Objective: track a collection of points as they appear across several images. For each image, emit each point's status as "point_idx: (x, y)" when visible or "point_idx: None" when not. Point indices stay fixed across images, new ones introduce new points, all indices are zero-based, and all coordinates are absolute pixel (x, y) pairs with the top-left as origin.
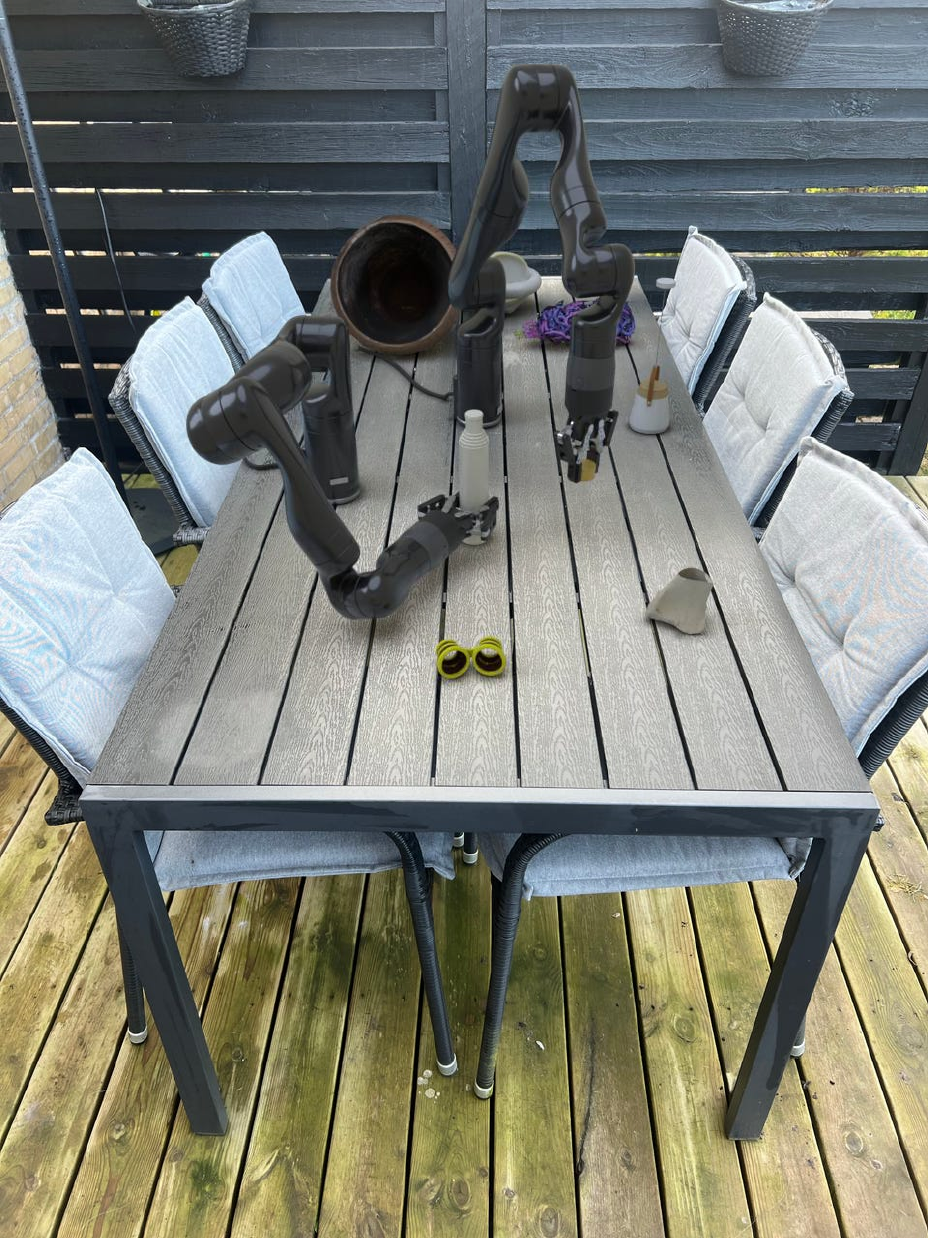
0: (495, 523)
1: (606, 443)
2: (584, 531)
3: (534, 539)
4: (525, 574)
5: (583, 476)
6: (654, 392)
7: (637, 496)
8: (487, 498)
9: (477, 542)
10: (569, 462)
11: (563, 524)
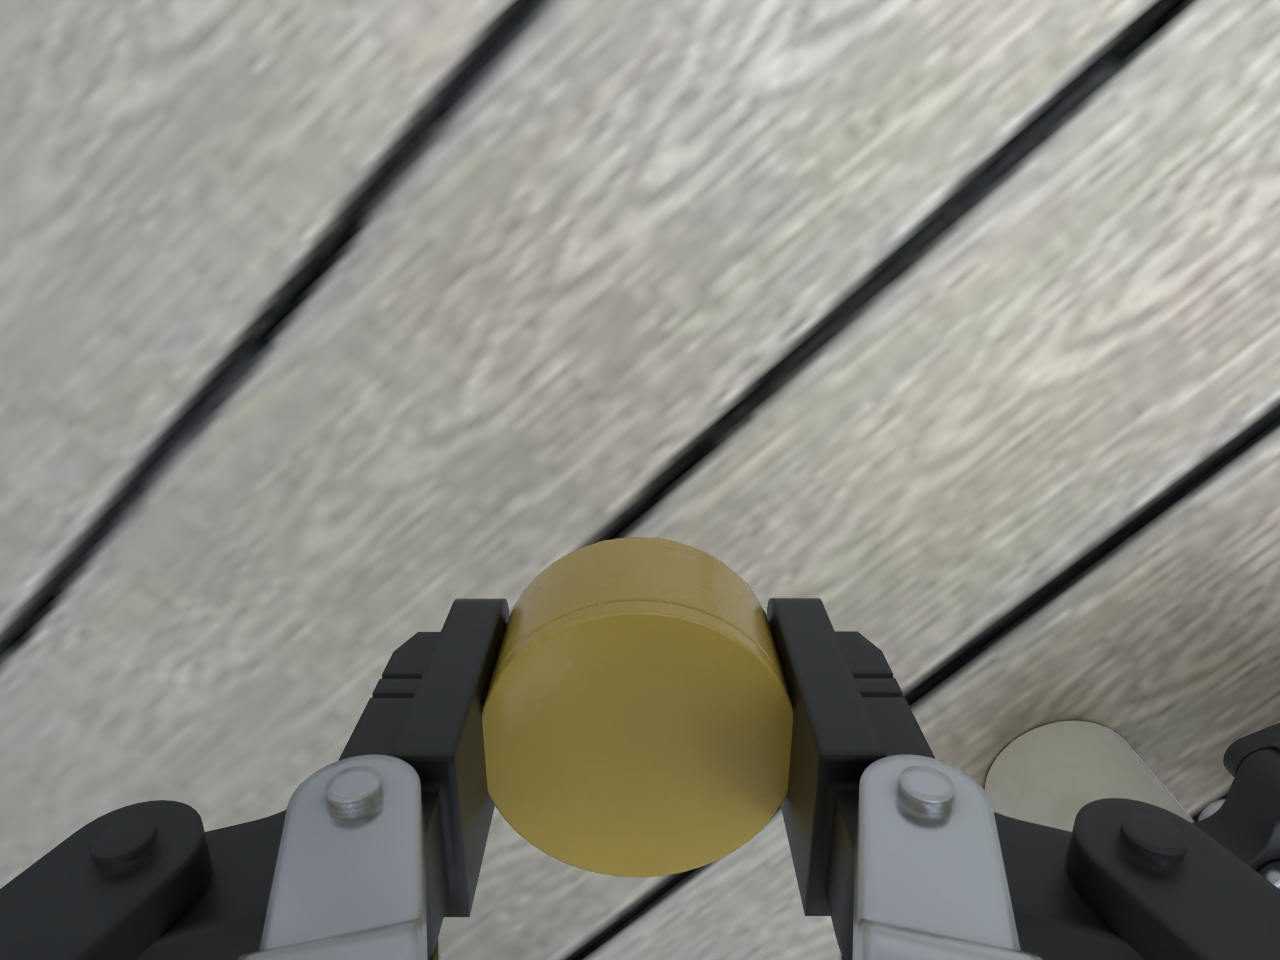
0: (1267, 745)
1: (171, 851)
2: (587, 425)
3: (867, 567)
4: (1218, 359)
5: (755, 611)
6: None
7: (6, 460)
8: None
9: (1121, 738)
10: (1208, 846)
11: None
